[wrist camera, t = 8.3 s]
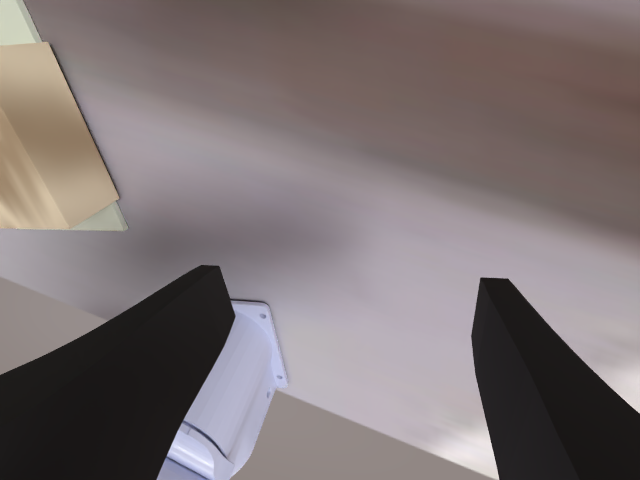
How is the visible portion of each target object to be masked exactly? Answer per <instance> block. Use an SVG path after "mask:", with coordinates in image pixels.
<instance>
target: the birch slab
mask: <svg viewBox="0 0 640 480" xmlns="http://www.w3.org/2000/svg"><path fill="white" fill-rule="evenodd" d="M118 199H119V196H118V194H117V191H116V189H115V187H114V185H113V183H112V181H111V178H110V176H109V174H108V172H107V170H106V167H105V165H104V163H103V161H102V159H101V157H100V154H99V152H98V150H97V148H96V146H95V143H94V141H93V139H92V137H91V135H90V133H89V130H88V128H87V126H86V124H85V122H84V119H83V117H82V115H81V113H80V111H79V109H78V106H77V104H76V102H75V100H74V98H73V95H72V93H71V91H70V89H69V87H68V85H67V82H66V80H65V78H64V76H63V74H62V71H61V69H60V67H59V65H58V63H57V61H56V58H55V56H54V54H53V52H52V50H51V47H50V45H49V43H48V42H40V43H27V44H14V45H1V46H0V228H20V229H71V228H73V227H75V226H76V225H78V224H79V223H81V222H83V221H84V220H86V219H87V218H89V217H91V216H92V215H94V214H95V213H97V212H99V211H100V210H102V209H103V208H105V207H107V206H108V205H110V204H111V203H113V202H115V201H116V200H118Z"/></svg>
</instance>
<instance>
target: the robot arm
mask: <svg viewBox="0 0 640 480" xmlns="http://www.w3.org/2000/svg"><path fill="white" fill-rule="evenodd" d="M264 314H265V315H264ZM471 338H472V348H473V357H474V366H475V374H476V379H477V383H478V388H479V392H480V396H481V401H482V405H483V409H484V414H485V418H486V422H487V426H488V431H489V435H490V439H491V443H492V448H493V452H494V456H495V461H496V465H497V469H498V474H499V480H640V414H639V413H638V412H637V411H636V410H635V409H634V408H632V407H631V406H630V405H629V404H628V403H627V402H626V401H625V400H623V399H622V398H621V397H620V396H619V395H618V394H617V393H616V392H615V391H614V390H612V389H611V388H610V387H609V386H608V385H607V384H606V383H605V382H604V381H603V380H602V379H601V378H600V377H599V376H598V375H597V374H596V373H595V372H594V371H593V370H592V369H591V368H590V367H589V366H588V365H587V364H586V363H585V362H584V361H583V360H582V359H581V358H580V357H579V356H578V355H577V354H576V353H575V352H574V351H573V350H572V349H571V348H570V347H569V346H568V345H567V344H566V343H565V342H564V341H563V340H562V339H561V338H560V337H559V336H558V334H557V333H556V332H555V331H554V330H553V329H552V328H551V327H550V326H549V325H548V324H547V323H546V321H545V320H544V319H543V318H542V317H541V316H540V315H539V314H538V312H537V311H536V310H535V309H534V308H533V307H532V306H531V304H530V303H529V302H528V301H527V300H526V299H525V298H524V296H523V295H522V294H521V293H520V292H519V291H518V289H517V288H516V287H515V286H514V285H513V284H512V282H511V281H510V280H509V279H503V278H480V284H479V291H478V297H477V303H476V310H475V316H474V322H473V329H472V335H471ZM287 386H288V379H287V375H286V371H285V367H284V363H283V359H282V355H281V351H280V347H279V343H278V340H277V336H276V332H275V328H274V324H273V320H272V316H271V312H270V308H269V306H268V305H267V304H265V303H259V302H245V301H231V300H230V297H229V294H228V291H227V288H226V285H225V282H224V279H223V276H222V273H221V270H220V267H219V266H209V265H201V266H199V267H197V268H195V269H193V270H191V271H189V272H188V273H186V274H184V275H183V276H181V277H179V278H178V279H176V280H175V281H173V282H171V283H170V284H168V285H167V286H165V287H163V288H162V289H160V290H159V291H157V292H155V293H154V294H152V295H151V296H149V297H147V298H146V299H144V300H143V301H141V302H140V303H138V304H136V305H135V306H133V307H131V308H130V309H128V310H126V311H125V312H123V313H121V314H120V315H118V316H116V317H114V318H113V319H111V320H109V321H108V322H106V323H104V324H103V325H101V326H99V327H98V328H96V329H94V330H92V331H90V332H89V333H87V334H85V335H83V336H81V337H79V338H77V339H76V340H74V341H72V342H70V343H68V344H66V345H64V346H62V347H60V348H58V349H56V350H54V351H52V352H50V353H48V354H46V355H44V356H42V357H40V358H38V359H35V360H33V361H31V362H29V363H26V364H24V365H22V366H19V367H17V368H15V369H13V370H10V371H8V372H6V373H4V374H1V375H0V480H230V477H232V476H233V475H234V474H235V473H237V471H239V470H240V469H241V468H242V467H243V465H244V464H245V463H246V461H247V460H248V458H249V457H250V455H251V453H252V451H253V448H254V446H255V443H256V440H257V437H258V435H259V432H260V429H261V427H262V424H263V421H264V419H265V416H266V413H267V410H268V408H269V405H270V402H271V400H272V397H273V394H274V392H275V389H276V387H278V388H286V387H287Z"/></svg>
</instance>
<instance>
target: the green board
mask: <svg viewBox="0 0 640 480" xmlns="http://www.w3.org/2000/svg"><path fill="white" fill-rule="evenodd" d="M40 42H42V40H41V38H40V36H39V34H38V32H37V30H36V27H35V25H34V23H33V21H32V19H31V17H30V14H29V12H28V10H27V8H26V6H25V4H24V1H23V0H0V46H1V45H14V44H27V43H40ZM17 229H20V228H17ZM127 229H128V226H127V224H126V222H125V220H124V217H123V215H122V213H121V211H120V209H119V207H118V204H117V202H116V201H115V202H113V203H111V204H110V205H108V206H107V207H105V208H103V209H102V210H100V211H99V212H97V213H95V214H94V215H92V216H91V217H89V218H87V219H86V220H84V221H83V222H81V223H79V224H78V225H76V226H75V227H73V228H71V229H34V230H90V231H126V230H127Z"/></svg>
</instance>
